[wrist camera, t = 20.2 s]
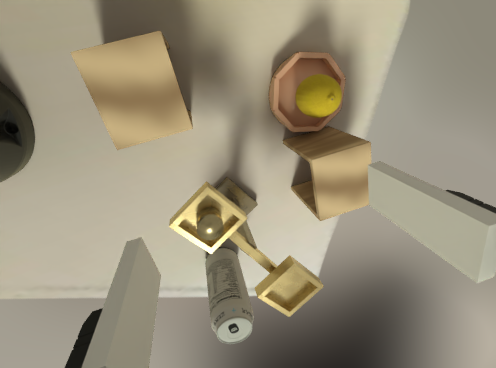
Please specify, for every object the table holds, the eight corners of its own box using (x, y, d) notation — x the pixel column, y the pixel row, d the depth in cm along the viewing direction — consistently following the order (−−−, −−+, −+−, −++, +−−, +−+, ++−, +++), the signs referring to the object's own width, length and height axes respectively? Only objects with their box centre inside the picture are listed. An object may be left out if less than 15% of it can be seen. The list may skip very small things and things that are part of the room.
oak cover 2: (282, 140, 41) (311, 160, 32) (328, 126, 42) (370, 142, 33) (291, 189, 45) (320, 221, 36) (333, 176, 46) (372, 203, 36)
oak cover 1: (105, 58, 32) (70, 52, 23) (168, 43, 33) (160, 30, 23) (135, 129, 36) (117, 150, 27) (191, 114, 37) (192, 128, 27)
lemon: (280, 89, 37) (303, 93, 30) (312, 65, 37) (342, 63, 30) (298, 120, 40) (323, 131, 33) (328, 98, 39) (360, 104, 32)
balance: (174, 178, 40) (167, 241, 25) (200, 150, 39) (209, 198, 24) (257, 240, 48) (289, 317, 33) (280, 218, 47) (324, 286, 32)
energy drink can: (211, 276, 49) (220, 353, 36) (200, 252, 46) (205, 325, 33) (241, 264, 49) (261, 336, 36) (231, 240, 47) (249, 308, 33)
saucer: (253, 93, 38) (257, 94, 36) (308, 34, 36) (315, 32, 34) (299, 143, 42) (304, 146, 40) (349, 92, 41) (357, 93, 39)
